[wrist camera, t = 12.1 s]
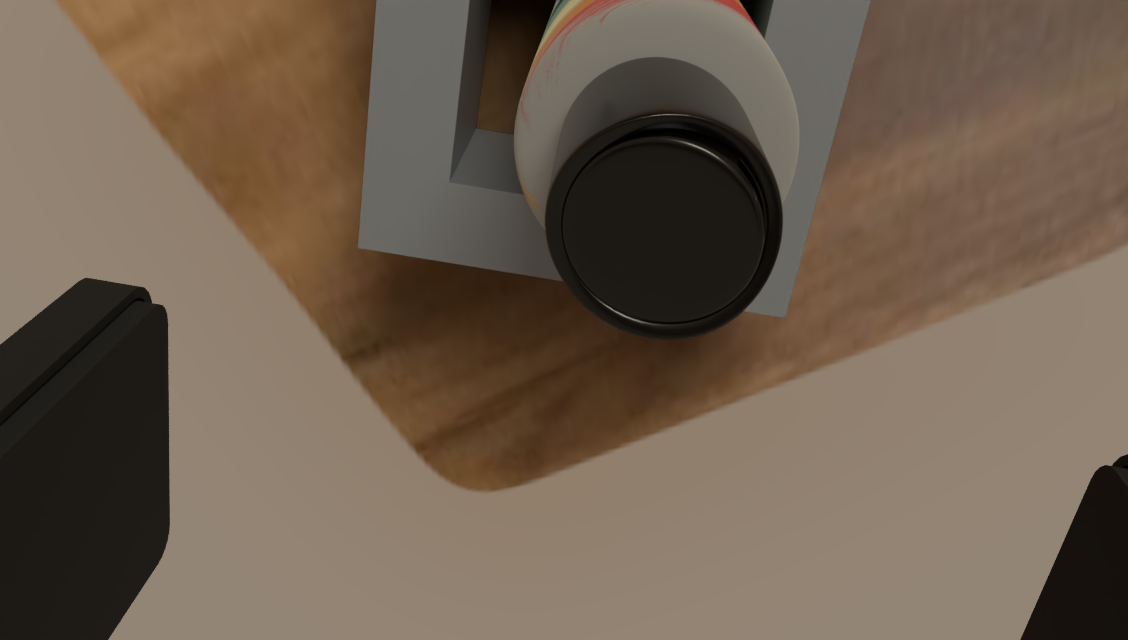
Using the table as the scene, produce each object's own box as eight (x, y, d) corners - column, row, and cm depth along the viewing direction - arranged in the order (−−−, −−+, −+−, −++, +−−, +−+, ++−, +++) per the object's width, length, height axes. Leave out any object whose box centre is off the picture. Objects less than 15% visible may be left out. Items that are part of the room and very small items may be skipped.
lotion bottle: (755, 69, 35) (898, 334, 17) (595, 133, 36) (566, 446, 18) (695, -103, 33) (784, -11, 15) (527, -29, 34) (417, 141, 16)
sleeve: (863, -154, 32) (910, -149, 26) (762, 245, 37) (785, 318, 32) (434, -227, 32) (394, -237, 26) (397, 185, 37) (357, 247, 32)
